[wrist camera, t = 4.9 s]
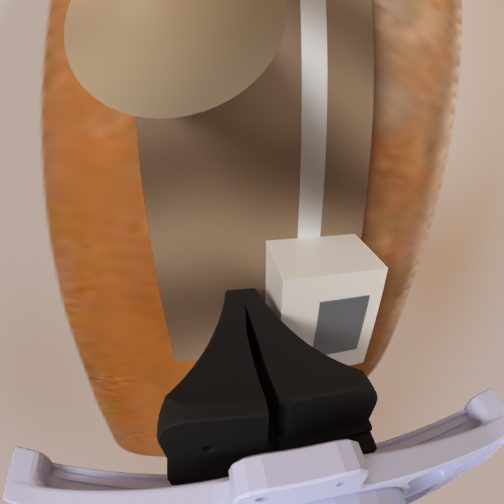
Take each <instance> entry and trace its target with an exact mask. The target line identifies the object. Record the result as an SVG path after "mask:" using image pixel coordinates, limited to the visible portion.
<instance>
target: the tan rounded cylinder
mask: <svg viewBox="0 0 504 504" xmlns="http://www.w3.org/2000/svg"><path fill="white" fill-rule="evenodd" d="M286 22H287V3H286V0H71V2H70V5H69V7H68V11H67V15H66V19H65V26H64V46H65V51H66V56H67V59H68V62H69V65H70V67H71V70H72V71H73V73H74V75H75V77H76V78H77V80H78V81H79V82H80V84H81V85H82V86H83V87H84V89H85V90H86V91H88V92H89V93H90V94H91V95H92V96H93V97H94V98H96V99H97V100H98V101H100V102H101V103H103V104H104V105H106V106H108V107H110V108H112V109H114V110H117V111H120V112H123V113H126V114H128V115H133V116H138V117H143V118H155V119H163V118H177V117H183V116H189V115H193V114H196V113H200V112H204V111H206V110H209V109H211V108H214V107H217V106H219V105H221V104H223V103H224V102H226V101H228V100H230V99H232V98H233V97H235V96H236V95H238V94H239V93H241V92H242V91H244V90H245V89H246V88H247V87H249V86H250V85H251V84H252V83H253V82H254V81H255V80H256V79H257V78H258V77H259V76H260V75H261V74H262V73H263V72H264V71H265V69H266V68H267V67H268V65H269V64H270V62H271V61H272V60H273V58H274V56H275V54H276V52H277V51H278V49H279V47H280V44H281V41H282V39H283V36H284V32H285V27H286Z"/></svg>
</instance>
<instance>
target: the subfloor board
mask: <svg viewBox="0 0 504 504" xmlns="http://www.w3.org/2000/svg"><path fill="white" fill-rule="evenodd" d="M286 3H287V22H286V27H285V32H284V36H283V39H282V41H281V44H280V47H279V49H278V51H277V52H276V54H275V56H274V58H273V60H272V61H271V62H270V64H269V65H268V67H267V68H266V69H265V71H264V72H263V73H262V74H261V75H260V76H259V77H258V78H257V79H256V80H255V81H254V82H253V83H252V84H251V85H250V86H249V87H247V88H246V89H245V90H244V91H242V92H241V93H239V94H238V95H236V96H235V97H233V98H232V99H230V100H228V101H226V102H224V103H223V104H221V105H219V106H217V107H214V108H211V109H209V110H206V111H204V112H200V113H196V114H193V115H189V116H183V117H177V118H163V119H155V118H143V117H138V116H136V126H137V138H138V149H139V159H140V169H141V177H142V186H143V194H144V201H145V208H146V215H147V222H148V229H149V235H150V241H151V247H152V253H153V259H154V264H155V270H156V275H157V280H158V285H159V290H160V295H161V300H162V305H163V310H164V314H165V319H166V323H167V328H168V332H169V336H170V340H171V344H172V349H173V353H174V357H175V361H176V362H177V361H195V360H198V359H199V358H200V356H201V355H202V353H203V352H204V350H205V348H206V347H207V345H208V343H209V341H210V339H211V337H212V335H213V333H214V330H215V328H216V326H217V323H218V321H219V318H220V315H221V312H222V308H223V304H224V299H225V292H226V291H227V290H237V289H249V288H255V289H256V290H257V291H258V293H259V294H260V296H261V297H262V298H263V300H264V301H265V294H266V241H267V240H279V239H292V238H305V237H319V236H332V235H346V234H356V235H357V236H358V237H359V238H360V239H361V236H362V229H363V222H364V214H365V206H366V197H367V188H368V178H369V167H370V155H371V141H372V124H373V100H374V32H373V10H372V0H286Z"/></svg>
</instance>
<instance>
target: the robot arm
mask: <svg viewBox="0 0 504 504" xmlns="http://www.w3.org/2000/svg"><path fill="white" fill-rule="evenodd" d="M376 402H377V393H376V391H375V390H374V388H373V386H372V384H371V382H370V381H369V379H368V378H367V376H366V375H365V374H364V372H363V371H361V370H358V369H356V368H353V367H351V366H348V365H346V364H343V363H341V362H339V361H337V360H335V359H333V358H331V357H329V356H327V355H325V354H323V353H322V352H320V351H318V350H317V349H315V348H314V347H312V346H310V345H309V344H308V343H306V342H305V341H304V340H302V339H301V338H300V337H299V336H297V335H296V334H295V333H294V332H293V331H292V330H290V329H289V328H288V327H287V326H286V325H285V324H284V323H283V322H282V321H281V320H280V319H279V318H278V316H277V315H276V314H275V313H274V312H273V311H272V310H271V309H270V307H269V306H268V305H267V304H266V302H265V301H264V300H263V298H262V297H261V296H260V294H259V293H258V291H257V290H256V289H255V288H249V289H237V290H227V291H226V292H225V299H224V304H223V308H222V312H221V315H220V318H219V321H218V323H217V326H216V328H215V330H214V333H213V335H212V337H211V339H210V341H209V343H208V345H207V347H206V348H205V350H204V352H203V353H202V355H201V356H200V358H199V359H198V361H197V362H196V364H195V365H194V366H193V368H192V369H191V370H190V371H189V372H188V374H187V375H186V376H185V377H184V378H183V380H182V381H181V382H180V383H179V384H178V385H177V386H176V387H175V388H174V389H173V390H172V391H171V392H170V393H169V394H167V395H166V396H165V399H164V401H163V404H162V407H161V410H160V414H159V419H158V426H157V439H158V443H159V445H160V446H161V448H162V450H163V452H164V454H165V455H166V457H167V474H165V475H163V474H138V473H123V472H111V471H102V470H94V469H86V468H79V467H73V466H67V465H62V464H56V463H52V462H51V460H50V459H49V458H48V457H47V456H45V455H44V454H42V453H40V452H38V451H34V450H30V449H25V448H21V447H15V450H14V454H13V457H12V461H11V464H10V468H9V473H8V476H7V481H6V485H5V489H4V494H3V499H4V500H5V501H6V502H8V503H9V504H409V503H411V502H413V501H415V500H417V499H419V498H421V497H423V496H425V495H427V494H429V493H431V492H432V491H435V490H437V489H438V488H440V487H442V486H444V485H445V484H447V483H449V482H451V481H452V480H454V479H456V478H457V477H459V476H461V475H462V474H464V473H466V472H467V471H469V470H471V469H472V468H474V467H476V466H477V465H479V464H480V463H482V462H483V461H485V460H487V459H488V458H489V457H490V456H492V455H493V454H494V453H495V452H496V451H497V450H498V449H499V448H500V447H501V446H502V445H503V444H504V404H503V402H502V401H501V400H500V398H499V397H498V395H497V394H496V393H495V391H494V390H493V388H490V389H488V390H486V391H484V392H482V393H480V394H478V395H476V396H475V397H473V398H472V399H471V400H470V401H469V402H468V403H467V405H466V406H465V408H464V410H462V411H460V412H457V413H455V414H453V415H451V416H449V417H446V418H444V419H442V420H439V421H437V422H435V423H432V424H430V425H427V426H425V427H423V428H420V429H417V430H415V431H412V432H409V433H407V434H404V435H401V436H398V437H395V438H393V439H389V440H386V441H383V442H380V443H377V444H375V442H374V439H373V437H372V435H371V432H370V431H371V430H372V426H371V424H370V421H369V417H370V415H371V413H372V411H373V409H374V407H375V405H376Z"/></svg>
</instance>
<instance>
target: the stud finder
mask: <svg viewBox="0 0 504 504" xmlns="http://www.w3.org/2000/svg"><path fill="white" fill-rule="evenodd" d="M387 271H388V267H387V266H386V265H385V264H384V263H383V262H382V261H381V260H380V259H379V258H378V257H377V256H376V255H375V254H374V253H373V252H372V251H371V250H370V249H369V247H368V246H367V245H366V244H365V243H364V242H363V241H362V240H361V239H360V238H359V237H358V236H357V235H356V234H346V235H332V236H319V237H305V238H292V239H279V240H267V241H266V294H265V302H266V304H267V305H268V306H269V307H270V309H271V310H272V311H273V312H274V313H275V314H276V315H277V316H278V318H279V319H280V320H281V321H282V322H283V323H284V324H285V325H286V326H287V327H288V328H289V329H290V330H292V331H293V332H294V333H295V334H296V335H297V336H299V337H300V338H301V339H302V340H304V341H305V342H306V343H308V344H309V345H310V346H312V347H314V348H315V349H317V350H318V351H320V352H322V353H323V354H325V355H327V356H329V357H331V358H333V359H335V360H337V361H339V362H341V363H343V364H346V365H348V366H349V365H354V364H359V363H363V362H364V358H365V355H366V352H367V349H368V345H369V342H370V338H371V335H372V331H373V328H374V324H375V320H376V317H377V313H378V309H379V305H380V301H381V297H382V293H383V289H384V285H385V280H386V276H387Z"/></svg>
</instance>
